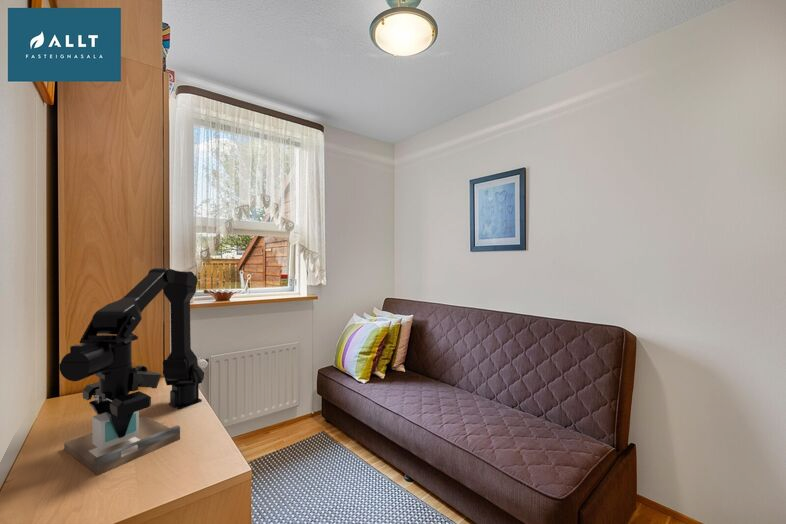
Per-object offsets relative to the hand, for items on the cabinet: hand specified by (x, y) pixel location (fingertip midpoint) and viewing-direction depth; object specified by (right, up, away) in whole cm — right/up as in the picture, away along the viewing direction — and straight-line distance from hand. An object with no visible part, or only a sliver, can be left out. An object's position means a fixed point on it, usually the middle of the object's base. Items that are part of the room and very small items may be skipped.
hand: (116, 434), depth 77 cm
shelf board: (-1, -4, +4) cm, 6 cm away
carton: (0, -1, 0) cm, 1 cm away
